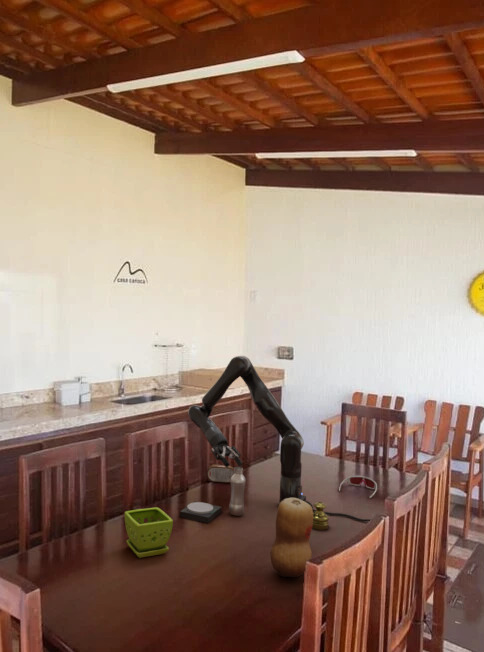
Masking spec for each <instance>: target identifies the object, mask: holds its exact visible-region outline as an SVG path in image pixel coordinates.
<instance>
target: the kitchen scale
mask: <svg viewBox="0 0 484 652" xmlns="http://www.w3.org/2000/svg"><path fill="white" fill-rule="evenodd" d="M222 510H223V506H219V505H216V504H210V503H206V502H201V501H196V500H194V501H193V502H191V503H188V505H187V506H185V507H184V508H183V509H181V510H180V511H179V517H180V518H183V519H187V520H192V521H197V522H201V523H205V524H209V523H210V522H212V521H213V520H214V519H216V518H217V517H218V516H219V515H220V514H221V513H222Z"/></svg>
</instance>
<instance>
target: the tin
mask: <svg viewBox="0 0 484 652" xmlns="http://www.w3.org/2000/svg"><path fill="white" fill-rule="evenodd" d="M234 468H235V467H233V466H231V465H229V466H228V467H226V466H225V465H224V464H211V465H209V466H208V467H207V469H206V476H207V479H208V480H209V481H210V482H214V483H222V484H223V483H224V484H231V477H232V476H233V475H234Z"/></svg>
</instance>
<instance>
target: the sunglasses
mask: <svg viewBox="0 0 484 652" xmlns="http://www.w3.org/2000/svg"><path fill="white" fill-rule="evenodd" d="M344 483H347V484H349V485H350V486H356V487H360V486H361V485H362V483H363V484H364V486H365V487H366V488H367V489H369V490H370V489H371V490H374V491H373V493H372V494H370V496H369V499H371V498H373V496H375V494H376V493H377V491H378V484H377V482H376V481H375V480H374V479H373V478H370V477H368V476H364V475H351V476H347V477H345V479H343V480H342V481H341V482H340V484H339V488H338V490H339V491H338V492H341V488H342V485H343V484H344Z"/></svg>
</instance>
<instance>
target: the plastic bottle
mask: <svg viewBox="0 0 484 652" xmlns="http://www.w3.org/2000/svg"><path fill="white" fill-rule="evenodd" d="M233 468H234V475H233V476H232V477H231V483H230V499H229V505H228V512H229V514H230V515H232V516H236V517H238V516H239V517H241V516H242V515H244V513H245V496H244V495H245V488H246V482H247V480H246V477H245V476H244V468H243V467H242V466H234V467H233Z"/></svg>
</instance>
